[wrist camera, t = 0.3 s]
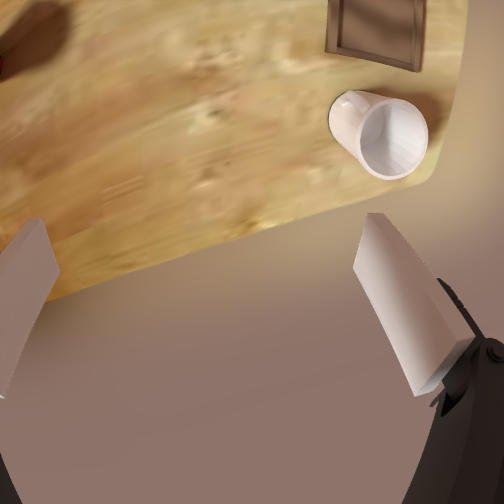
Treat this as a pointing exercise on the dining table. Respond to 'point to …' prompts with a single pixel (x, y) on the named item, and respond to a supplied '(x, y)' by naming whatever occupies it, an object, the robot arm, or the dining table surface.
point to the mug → (379, 132)
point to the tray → (376, 31)
